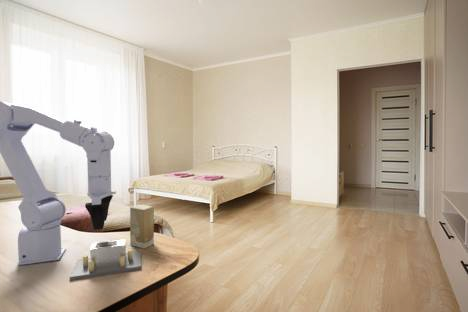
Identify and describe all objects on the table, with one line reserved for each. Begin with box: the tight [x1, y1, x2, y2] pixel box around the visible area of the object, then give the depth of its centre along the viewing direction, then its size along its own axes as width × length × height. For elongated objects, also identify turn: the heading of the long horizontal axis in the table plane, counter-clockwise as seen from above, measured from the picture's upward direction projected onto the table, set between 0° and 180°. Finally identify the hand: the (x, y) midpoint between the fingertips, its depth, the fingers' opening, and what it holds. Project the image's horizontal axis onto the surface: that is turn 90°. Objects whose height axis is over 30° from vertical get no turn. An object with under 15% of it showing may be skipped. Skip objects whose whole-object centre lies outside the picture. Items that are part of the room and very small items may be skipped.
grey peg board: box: [69, 245, 142, 281], centre depth 71 cm, size 16×10×3 cm, turn 110°
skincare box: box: [129, 203, 155, 249], centre depth 85 cm, size 6×4×12 cm
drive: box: [89, 238, 127, 268], centre depth 71 cm, size 8×4×5 cm, turn 111°
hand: (100, 224), depth 75 cm, fingers open, 7 cm apart
